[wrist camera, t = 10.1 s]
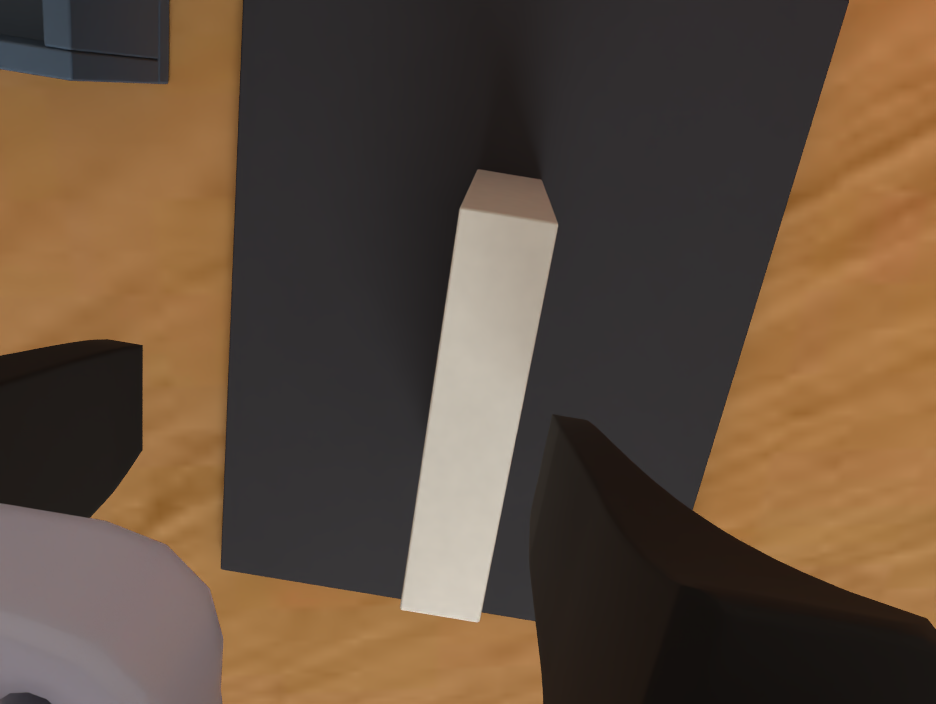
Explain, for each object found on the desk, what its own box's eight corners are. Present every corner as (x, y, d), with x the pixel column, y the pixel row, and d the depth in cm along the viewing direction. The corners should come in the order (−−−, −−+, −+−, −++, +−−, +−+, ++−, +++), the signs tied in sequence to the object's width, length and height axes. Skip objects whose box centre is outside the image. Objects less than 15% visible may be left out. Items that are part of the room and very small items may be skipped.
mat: (649, 630, 25) (652, 641, 24) (225, 560, 25) (220, 569, 24) (841, 1, 18) (850, -1, 17) (253, -96, 18) (246, -101, 17)
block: (488, 468, 22) (479, 624, 16) (432, 459, 22) (399, 610, 16) (542, 179, 19) (558, 223, 13) (476, 168, 19) (459, 206, 13)
